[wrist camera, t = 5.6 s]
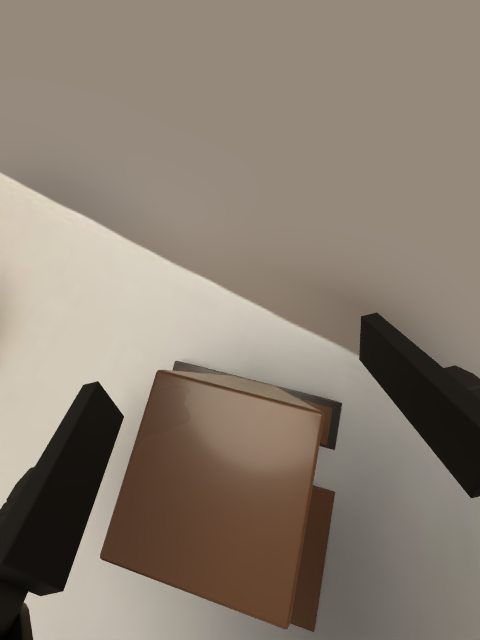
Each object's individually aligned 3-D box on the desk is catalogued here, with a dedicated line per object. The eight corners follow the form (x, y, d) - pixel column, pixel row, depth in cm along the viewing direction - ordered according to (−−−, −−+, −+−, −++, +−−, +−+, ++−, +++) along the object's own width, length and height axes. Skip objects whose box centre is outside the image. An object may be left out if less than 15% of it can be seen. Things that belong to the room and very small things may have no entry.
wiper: (333, 400, 19) (652, 497, 3) (327, 442, 18) (677, 782, 3) (183, 362, 20) (-50, 315, 5) (172, 399, 20) (-129, 474, 4)
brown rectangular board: (334, 492, 17) (334, 492, 17) (313, 630, 16) (314, 632, 16) (148, 436, 19) (148, 436, 19) (113, 555, 17) (112, 556, 17)
